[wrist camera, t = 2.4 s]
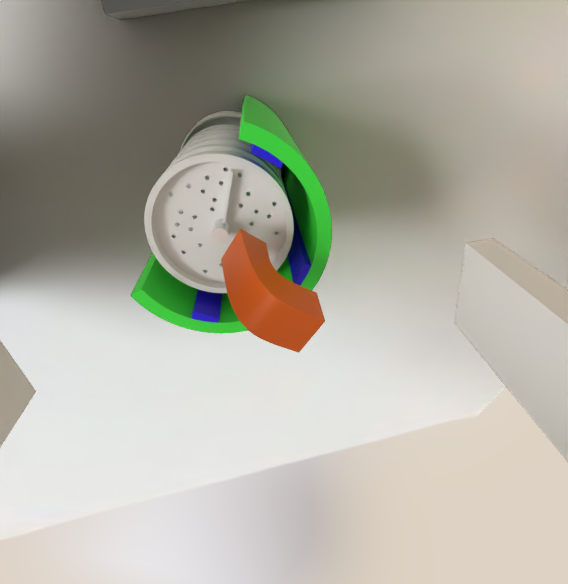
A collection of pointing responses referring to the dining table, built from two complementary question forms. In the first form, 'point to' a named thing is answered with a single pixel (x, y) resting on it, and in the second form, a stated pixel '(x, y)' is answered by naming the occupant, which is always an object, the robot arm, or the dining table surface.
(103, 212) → the dining table surface
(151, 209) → the green-shelled ribbed roller
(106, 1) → the tray
